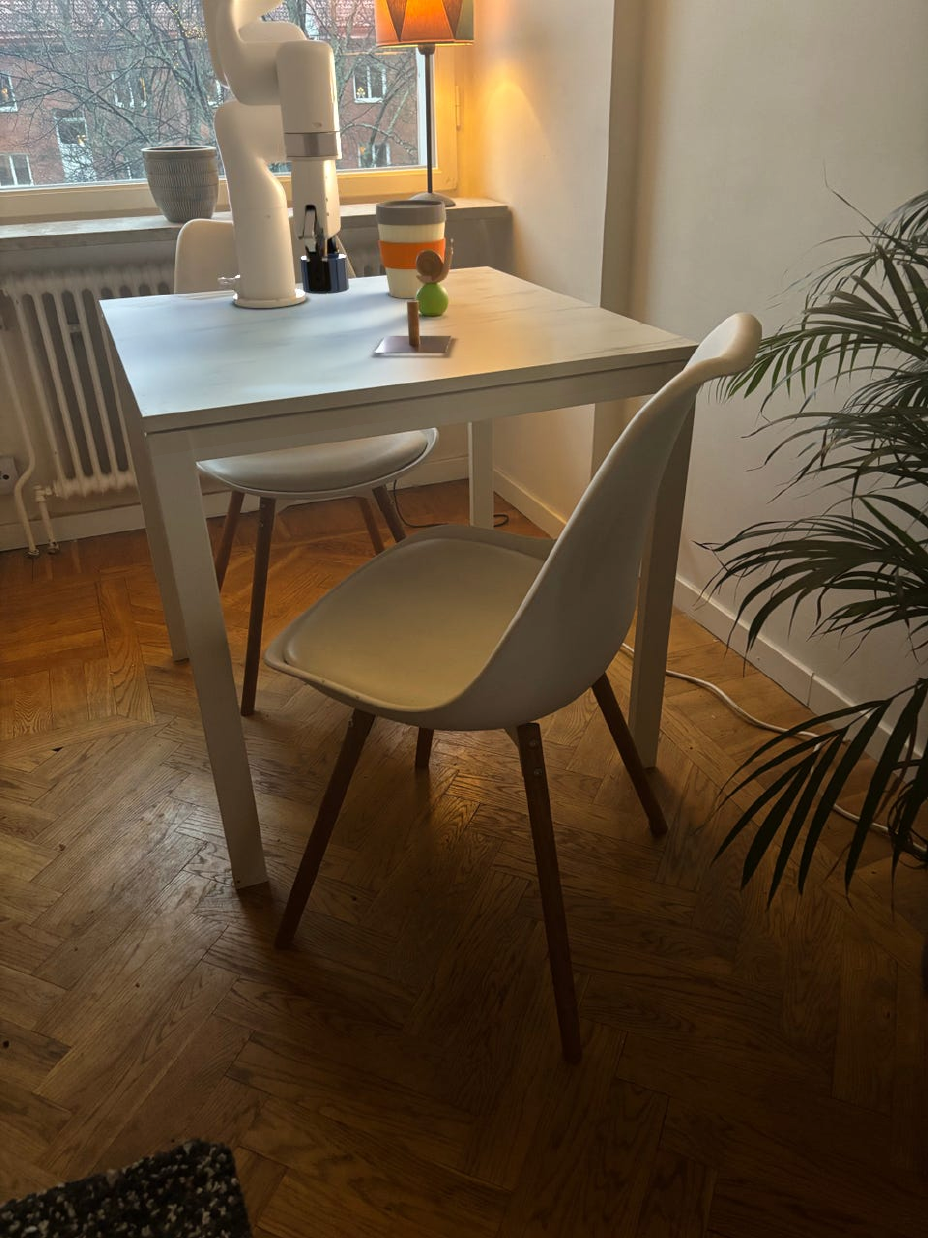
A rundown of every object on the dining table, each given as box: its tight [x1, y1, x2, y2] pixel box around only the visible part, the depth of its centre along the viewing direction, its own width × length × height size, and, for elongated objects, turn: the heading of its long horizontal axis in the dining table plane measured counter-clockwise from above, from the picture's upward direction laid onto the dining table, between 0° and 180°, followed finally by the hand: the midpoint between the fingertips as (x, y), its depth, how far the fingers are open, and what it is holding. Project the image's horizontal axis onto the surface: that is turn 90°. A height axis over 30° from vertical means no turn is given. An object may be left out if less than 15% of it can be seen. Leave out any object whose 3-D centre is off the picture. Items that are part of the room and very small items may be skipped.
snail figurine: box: [414, 238, 454, 317], centre depth 150 cm, size 5×6×12 cm
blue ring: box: [299, 253, 350, 295], centre depth 134 cm, size 6×6×4 cm
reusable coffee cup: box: [375, 199, 448, 299], centre depth 167 cm, size 13×13×15 cm
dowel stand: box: [374, 299, 453, 354], centre depth 134 cm, size 10×10×7 cm
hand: (325, 285), depth 135 cm, fingers closed on blue ring, 6 cm apart
